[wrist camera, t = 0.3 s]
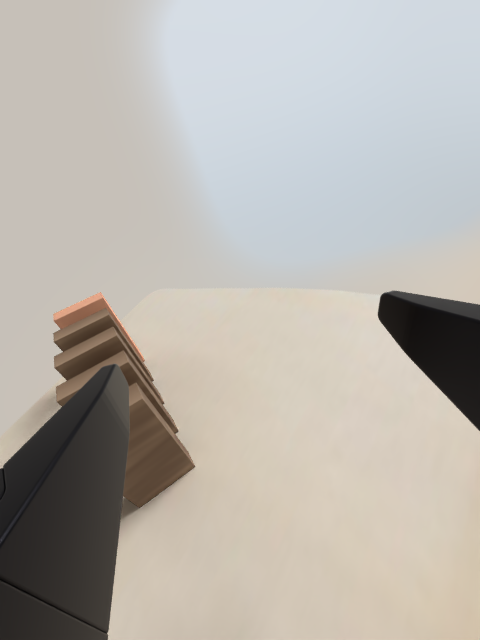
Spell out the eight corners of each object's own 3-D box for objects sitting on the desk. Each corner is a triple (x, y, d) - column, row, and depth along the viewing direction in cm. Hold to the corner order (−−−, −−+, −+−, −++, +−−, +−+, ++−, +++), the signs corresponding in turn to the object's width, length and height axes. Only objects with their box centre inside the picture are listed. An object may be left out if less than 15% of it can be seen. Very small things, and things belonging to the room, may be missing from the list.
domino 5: (144, 360, 34) (102, 297, 28) (106, 382, 33) (53, 320, 27) (141, 354, 35) (100, 292, 29) (104, 374, 34) (53, 314, 28)
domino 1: (195, 466, 22) (142, 398, 16) (139, 508, 21) (58, 449, 15) (187, 451, 24) (135, 382, 18) (134, 489, 22) (57, 428, 16)
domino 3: (164, 403, 28) (116, 335, 22) (119, 432, 27) (54, 367, 21) (159, 393, 29) (113, 326, 23) (116, 420, 28) (54, 356, 22)
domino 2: (178, 431, 25) (128, 361, 19) (128, 465, 24) (56, 401, 18) (172, 419, 27) (123, 350, 20) (124, 450, 25) (56, 386, 19)
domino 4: (153, 380, 31) (108, 314, 25) (112, 405, 30) (53, 341, 24) (149, 372, 32) (106, 307, 26) (109, 395, 31) (53, 333, 25)
